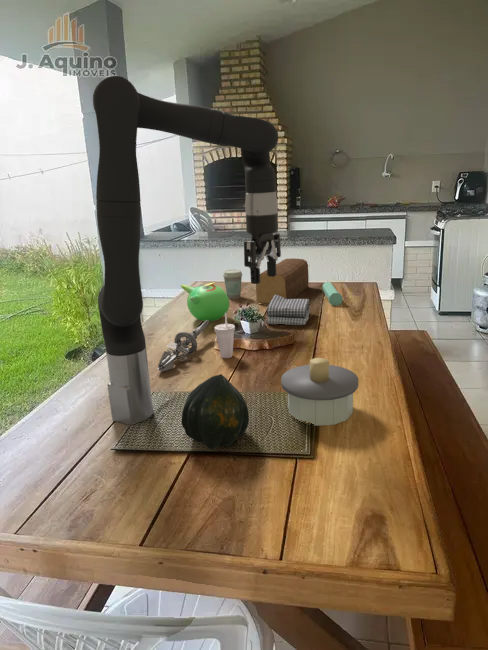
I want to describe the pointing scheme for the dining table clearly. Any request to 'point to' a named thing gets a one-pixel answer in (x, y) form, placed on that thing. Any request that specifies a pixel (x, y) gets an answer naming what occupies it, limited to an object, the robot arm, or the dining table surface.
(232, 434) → the squash
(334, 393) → the lid
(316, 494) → the dining table surface
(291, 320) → the towel
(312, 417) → the bowl
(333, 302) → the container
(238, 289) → the coffee cup
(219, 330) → the smoothie
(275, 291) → the bread
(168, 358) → the spaceship
